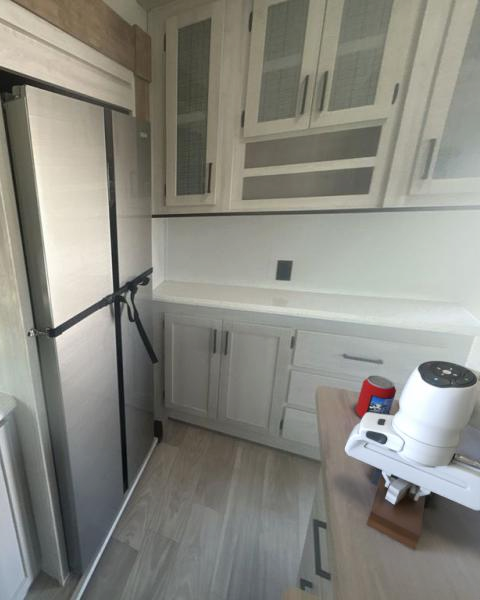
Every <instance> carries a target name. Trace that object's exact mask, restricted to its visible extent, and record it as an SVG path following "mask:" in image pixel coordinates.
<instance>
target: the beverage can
mask: <svg viewBox="0 0 480 600" xmlns="http://www.w3.org/2000/svg"><path fill="white" fill-rule="evenodd" d="M396 393H397V389H396V386H395V383H394V382H393V380H391V379H389V378H387V377H385V376H381V375H369V376H368V377H367V378H365V379H364V380H363V382H362V385H361V388H360V392H359V396H358V399H357V403H356V408H355V412H356V414H357V415H358V416H359V417H361V419H362V418H363V416H364V415H365V414H366V413H368V412H370V413H378V414H385V415H390V413H391V412H390V411H391V409H392V406H393V403H394V400H395V396H396Z"/></svg>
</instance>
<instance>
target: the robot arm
mask: <svg viewBox="0 0 480 600" xmlns="http://www.w3.org/2000/svg"><path fill="white" fill-rule="evenodd" d="M398 407H399V409H398V411H397V412H395V414H394V415H392V414H389V415H385V414H378V413H370V412H368V413H366V414H365V415H364V416H363V418H362V417H361V420H360V422H358V423H356V425H355V426H354V427H353V429H352V430H351V432H350V434H349V437H348V439H347V441H346V442H345V443H346V444H345V446H344V451H345V453H346V454H347V456H349V457H351V458H353V459H356V460H358V461H361V462H363V463H365V464H367V465H369V466H372V467H374V468H375V467H376V468H379V469H381V470H382V474H383V476H384V478H385V480H386V483H385V487H387V488H389V486H390V484H392V483H393V482H394V481H396V479H394V478H392V476H391V474H393V475H395V476H397V477H399V478H402V479H404V480H406V481H409V482H411V483H413V484H416V485H418V486H420V487H417V488H414V487H412V486H411V487H410V488H409V491H408V495H407V497H409V498H411V499H413V500H415V501H418V498H419V496H424V495H428V494H430V492H431V491H432V492H433V493H435V494H436V495H438V496H441V497H444V498H445V499H448V500H450V501H453V502H455V503H457V504H459V505H462V506H464V507H466V508H468V509H471V510H473V511H475V512H477V511H478V512H479V511H480V462H479V461H476V460H473V459H471V458H469V457H467V456H464V455H461V454H459V453H456V451H457V449H458V448H459V444H460V442H461V431H462V430H463V429H464V428H466V427H467V426H469V427H472V428H474V429H476V430H478V431H480V371H478V370H475V369H472V368H470V367H466V366H463V365H460V364H457V363H455V362H451V361H444V360H429V361H424V362H421V363H419V364H418V365H417V366H416V367H415V368H414V369H413V371H412V373H411V374H410V376H408V379H407V381H406V383H405V384H404V387H403V389H402V392H401V394H400V397H399V400H398Z"/></svg>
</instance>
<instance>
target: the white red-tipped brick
mask: <svg viewBox="0 0 480 600" xmlns="http://www.w3.org/2000/svg"><path fill="white" fill-rule="evenodd" d="M411 486H412V487H414V488H416V486H417V485H416V484H413V483H411V482H409V481H406V480H404V479H402V478H398V479H397V480H396V481H394V482H393V483H392V484H390V486H389V489H388V492H387V494H386V497H385V499H387V500H388V501H390V502H391V503H392V504H394V505H395V504H396V503H397V502H399V501H400V500H401V499H402V498H403V497H405V496H406V495H407V494H408V491H409V488H410V487H411Z"/></svg>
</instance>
